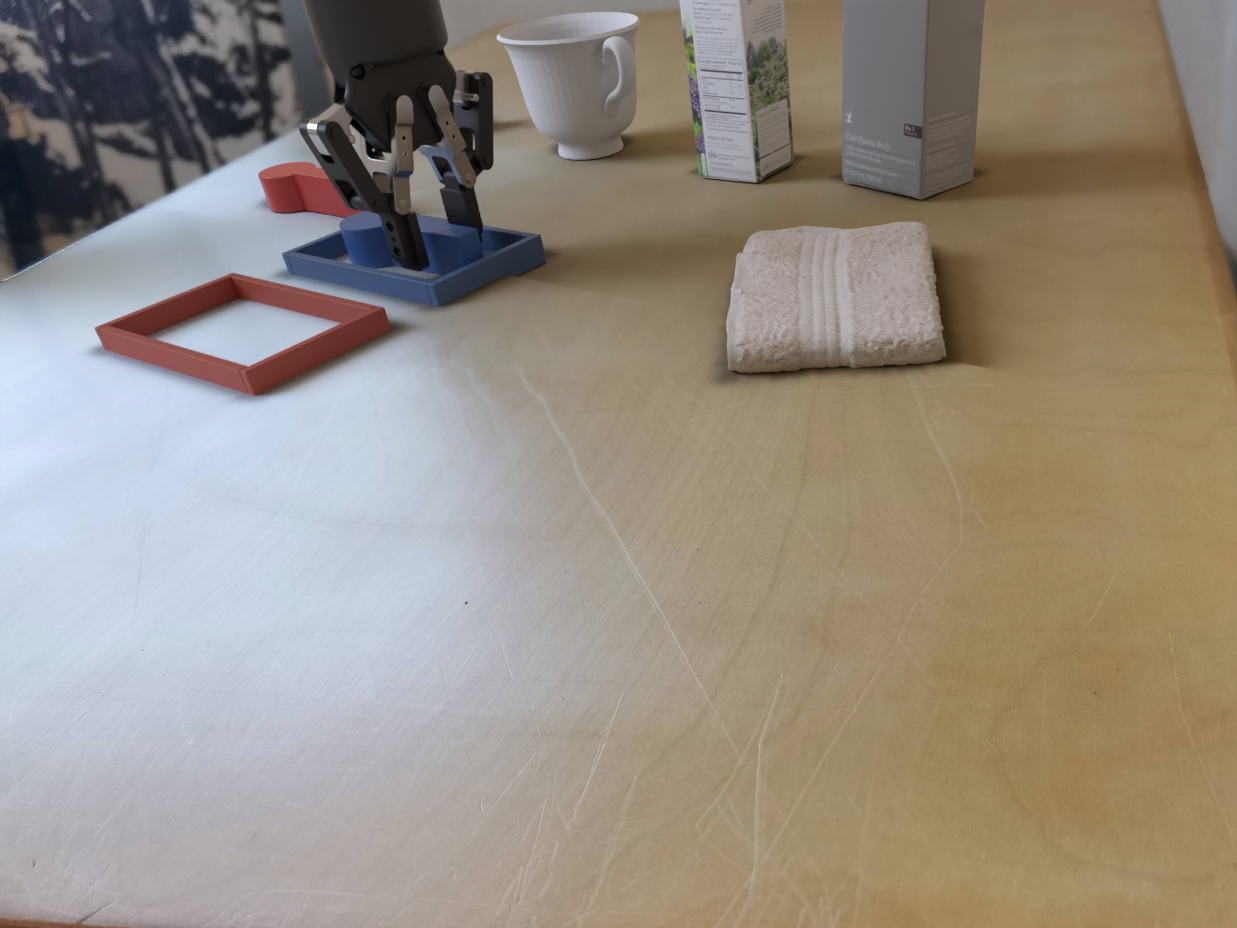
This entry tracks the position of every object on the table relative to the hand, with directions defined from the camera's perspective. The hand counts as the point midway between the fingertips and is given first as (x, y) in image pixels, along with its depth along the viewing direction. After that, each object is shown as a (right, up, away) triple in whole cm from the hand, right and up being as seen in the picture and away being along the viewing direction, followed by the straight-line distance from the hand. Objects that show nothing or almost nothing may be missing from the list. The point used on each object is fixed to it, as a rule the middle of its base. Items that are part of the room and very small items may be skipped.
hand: (442, 255), depth 76 cm
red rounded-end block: (-15, +9, +16) cm, 23 cm away
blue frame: (-2, 0, +2) cm, 3 cm away
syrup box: (+20, +11, +16) cm, 28 cm away
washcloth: (+26, -6, -9) cm, 28 cm away
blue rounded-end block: (-2, 0, +2) cm, 3 cm away
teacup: (+6, +16, +23) cm, 29 cm away
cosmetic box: (+33, +9, +10) cm, 35 cm away
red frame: (-10, -8, -6) cm, 14 cm away
